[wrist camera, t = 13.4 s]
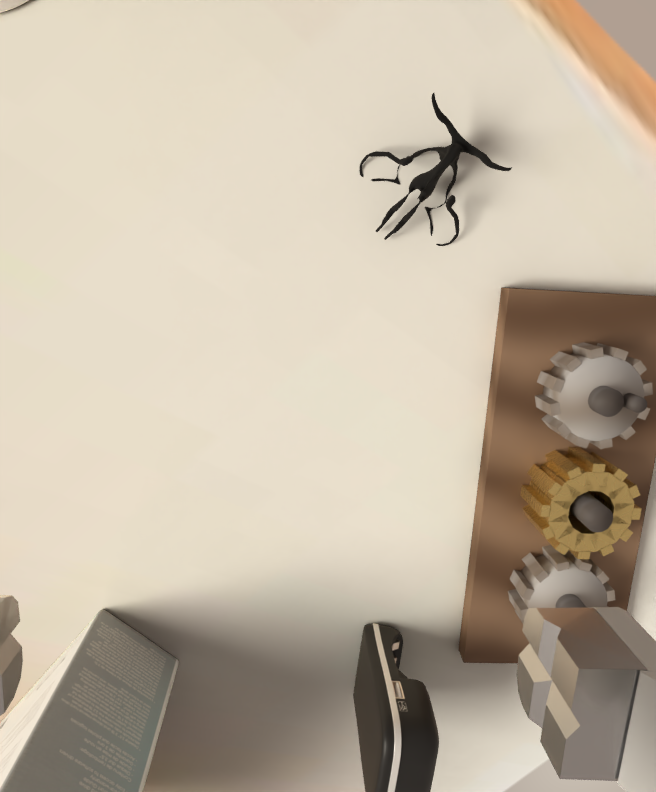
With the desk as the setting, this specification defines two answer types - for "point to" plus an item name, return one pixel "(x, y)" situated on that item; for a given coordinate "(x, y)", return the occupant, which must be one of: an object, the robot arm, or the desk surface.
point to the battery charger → (392, 718)
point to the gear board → (558, 430)
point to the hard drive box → (90, 715)
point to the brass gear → (561, 487)
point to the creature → (433, 173)
